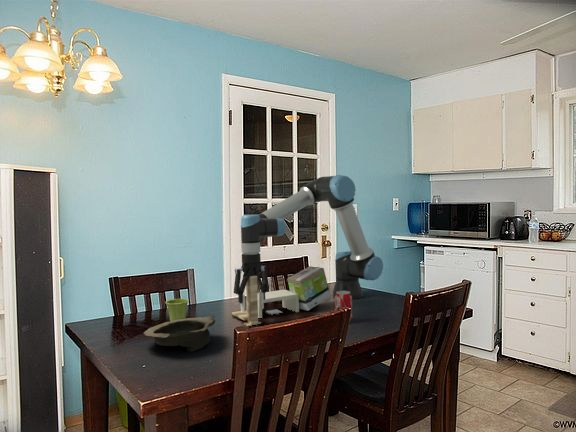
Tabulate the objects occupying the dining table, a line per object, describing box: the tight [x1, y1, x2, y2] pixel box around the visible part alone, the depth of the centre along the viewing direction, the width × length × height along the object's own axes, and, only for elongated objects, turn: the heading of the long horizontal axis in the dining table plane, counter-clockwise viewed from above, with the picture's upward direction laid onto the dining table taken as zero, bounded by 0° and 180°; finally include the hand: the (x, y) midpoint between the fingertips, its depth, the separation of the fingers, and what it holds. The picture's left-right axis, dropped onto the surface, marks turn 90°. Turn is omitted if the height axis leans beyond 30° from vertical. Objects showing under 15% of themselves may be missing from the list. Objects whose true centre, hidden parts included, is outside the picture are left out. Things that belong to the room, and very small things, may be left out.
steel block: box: [265, 309, 283, 316], centre depth 196 cm, size 6×6×1 cm
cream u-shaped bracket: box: [245, 289, 300, 319], centre depth 197 cm, size 20×12×8 cm, turn 121°
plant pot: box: [165, 298, 189, 322], centre depth 185 cm, size 9×9×9 cm
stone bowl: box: [143, 315, 216, 353], centre depth 155 cm, size 25×25×9 cm
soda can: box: [334, 291, 353, 322], centre depth 181 cm, size 7×7×12 cm
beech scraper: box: [230, 275, 262, 327], centre depth 184 cm, size 16×6×20 cm, turn 31°
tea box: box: [287, 266, 332, 311], centre depth 202 cm, size 15×10×15 cm, turn 130°
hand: (252, 309), depth 178 cm, fingers open, 8 cm apart
